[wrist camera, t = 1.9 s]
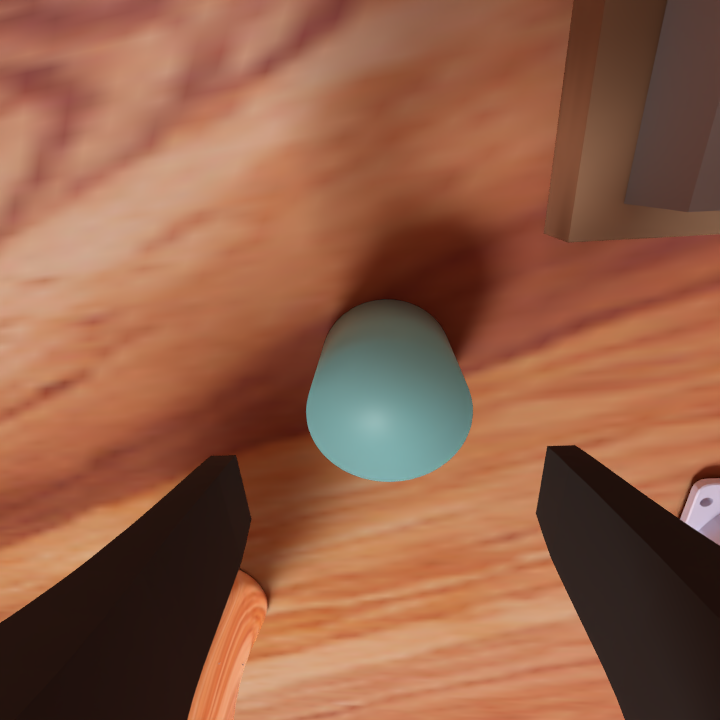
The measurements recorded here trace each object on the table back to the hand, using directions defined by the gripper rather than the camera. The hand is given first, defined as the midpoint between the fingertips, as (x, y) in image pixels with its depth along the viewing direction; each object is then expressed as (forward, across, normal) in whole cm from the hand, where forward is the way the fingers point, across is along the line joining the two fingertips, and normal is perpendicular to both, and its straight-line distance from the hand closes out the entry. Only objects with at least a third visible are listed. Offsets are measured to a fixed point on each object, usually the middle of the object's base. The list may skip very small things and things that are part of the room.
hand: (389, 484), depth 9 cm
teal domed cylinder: (+7, 0, 0) cm, 7 cm away
